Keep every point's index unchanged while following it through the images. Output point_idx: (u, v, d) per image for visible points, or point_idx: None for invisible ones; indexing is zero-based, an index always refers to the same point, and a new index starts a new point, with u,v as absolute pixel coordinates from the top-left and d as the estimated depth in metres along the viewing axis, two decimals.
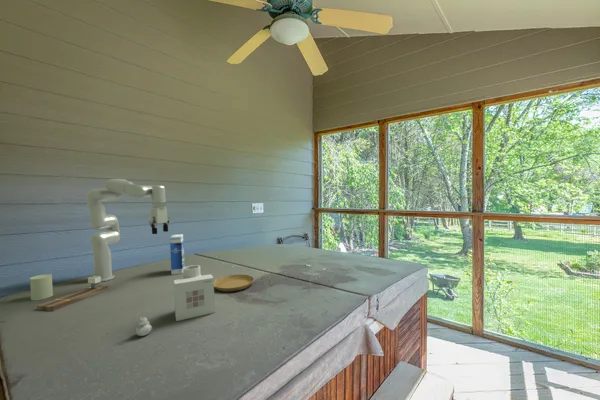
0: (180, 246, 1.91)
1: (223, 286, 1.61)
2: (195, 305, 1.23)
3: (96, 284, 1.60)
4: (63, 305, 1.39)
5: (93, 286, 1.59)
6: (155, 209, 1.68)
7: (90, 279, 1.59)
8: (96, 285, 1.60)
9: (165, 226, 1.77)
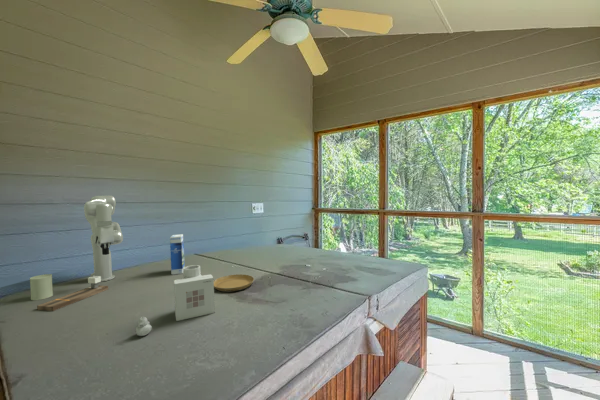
0: (180, 246, 1.91)
1: (223, 286, 1.61)
2: (195, 305, 1.23)
3: (96, 284, 1.60)
4: (63, 305, 1.39)
5: (93, 286, 1.59)
6: (98, 228, 1.63)
7: (90, 279, 1.59)
8: (96, 285, 1.60)
9: None
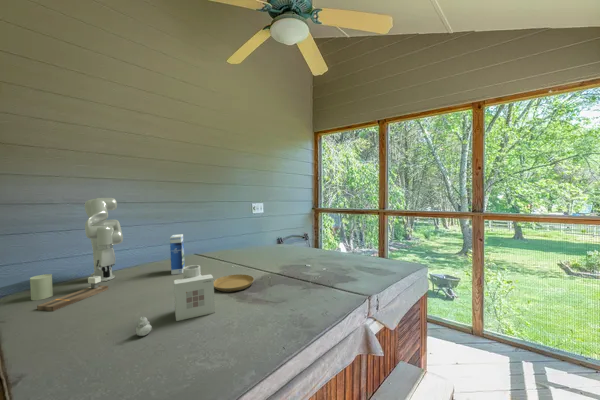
0: (180, 246, 1.91)
1: (223, 286, 1.61)
2: (195, 305, 1.23)
3: (96, 284, 1.60)
4: (63, 305, 1.39)
5: (93, 286, 1.59)
6: (99, 252, 1.63)
7: (90, 279, 1.59)
8: (96, 285, 1.60)
9: None
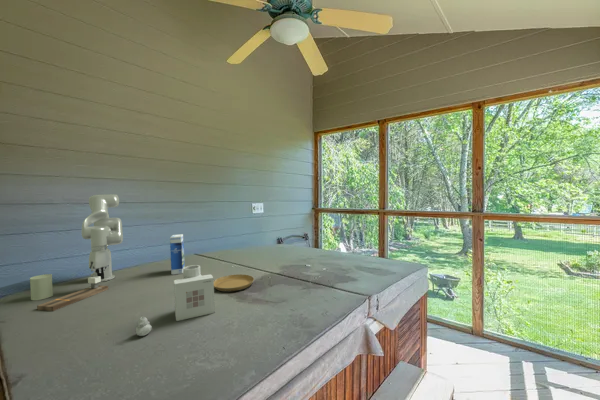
0: (180, 246, 1.91)
1: (223, 286, 1.61)
2: (195, 305, 1.23)
3: (96, 284, 1.60)
4: (63, 305, 1.39)
5: (93, 286, 1.59)
6: (93, 253, 1.59)
7: (90, 279, 1.59)
8: (96, 285, 1.60)
9: None
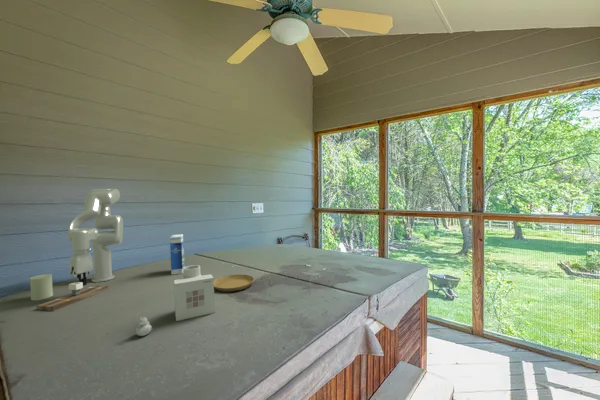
0: (180, 246, 1.91)
1: (223, 286, 1.61)
2: (195, 305, 1.23)
3: (78, 291, 1.50)
4: (63, 305, 1.39)
5: (74, 293, 1.49)
6: (74, 258, 1.49)
7: (71, 285, 1.48)
8: (78, 292, 1.50)
9: None
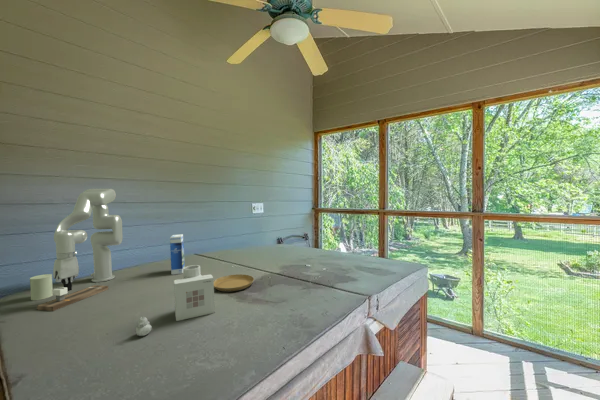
0: (180, 246, 1.91)
1: (223, 286, 1.61)
2: (195, 305, 1.23)
3: (62, 296, 1.42)
4: (63, 305, 1.39)
5: (58, 299, 1.41)
6: (58, 262, 1.41)
7: (55, 291, 1.40)
8: (62, 297, 1.42)
9: None
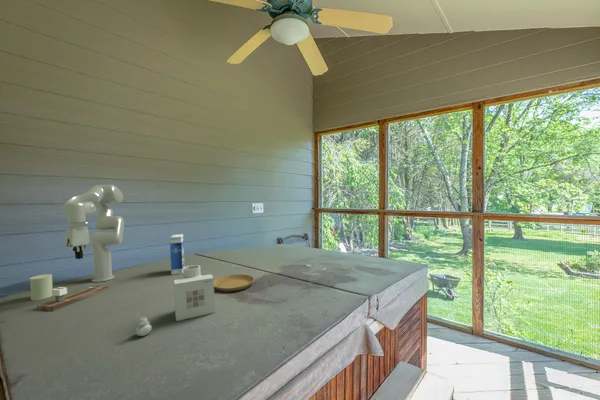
0: (180, 246, 1.91)
1: (223, 286, 1.61)
2: (195, 305, 1.23)
3: (61, 296, 1.41)
4: (63, 305, 1.39)
5: (58, 299, 1.40)
6: (70, 230, 1.47)
7: (54, 291, 1.40)
8: (61, 298, 1.41)
9: None
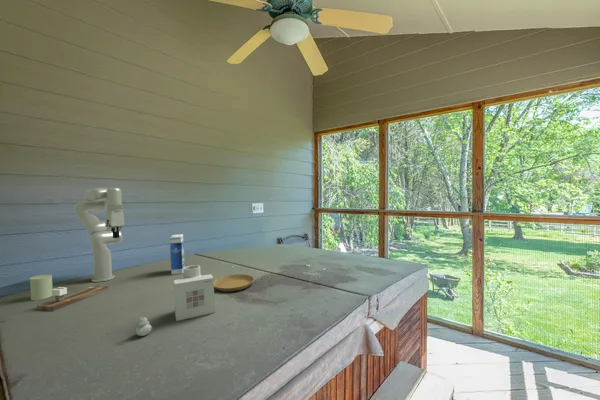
0: (180, 246, 1.91)
1: (223, 286, 1.61)
2: (195, 305, 1.23)
3: (61, 296, 1.41)
4: (63, 305, 1.39)
5: (58, 299, 1.40)
6: (109, 212, 1.65)
7: (54, 291, 1.40)
8: (61, 298, 1.41)
9: None
